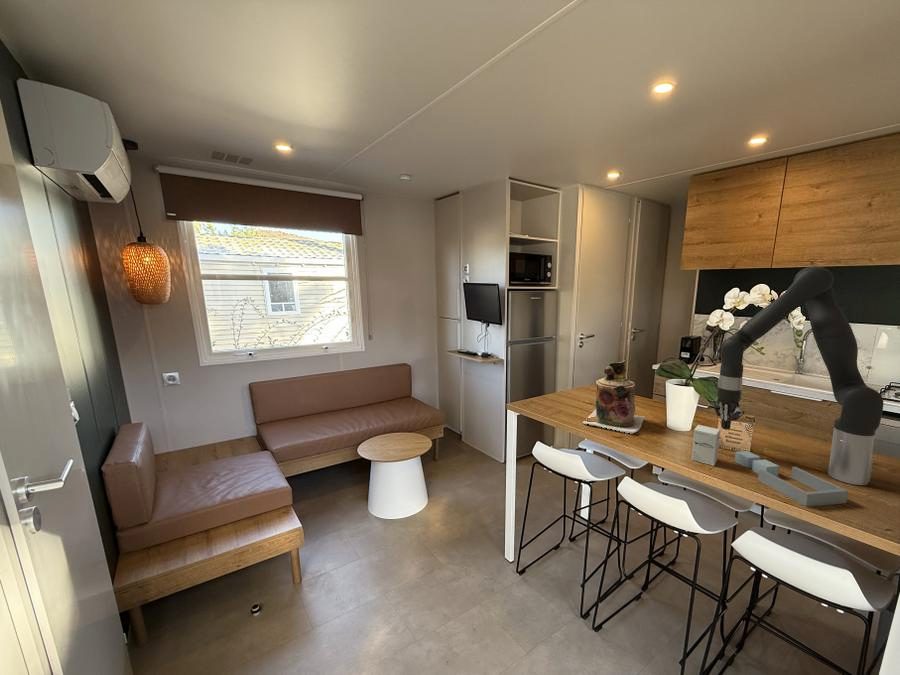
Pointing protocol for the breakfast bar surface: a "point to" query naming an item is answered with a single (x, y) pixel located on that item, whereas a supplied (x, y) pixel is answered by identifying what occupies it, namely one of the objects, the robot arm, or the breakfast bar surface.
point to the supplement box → (705, 444)
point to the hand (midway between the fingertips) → (725, 428)
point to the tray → (822, 496)
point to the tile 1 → (746, 458)
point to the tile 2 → (765, 467)
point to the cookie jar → (616, 401)
